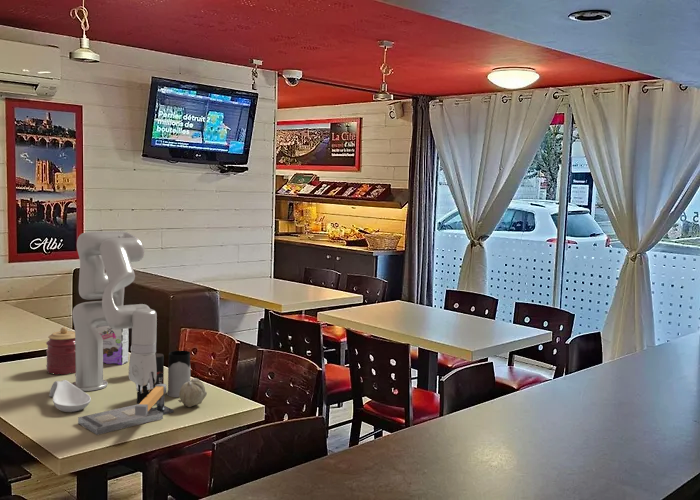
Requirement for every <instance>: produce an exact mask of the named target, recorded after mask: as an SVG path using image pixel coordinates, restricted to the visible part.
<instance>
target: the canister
mask: <svg viewBox="0 0 700 500" xmlns="http://www.w3.org/2000/svg"><path fill="white" fill-rule="evenodd" d="M45 344H46V345H47V349H46V351H45V352H46V372H47V373H48V372H49V373H48V374H50V373H54V374H53V375H58V374H61V375H70V374H69V373H71V374H76V352H75V331H72V330H68V329H67V327H66V326H64V327H63V326H62V327H61V328H60V329H59V331H56V332H55V331H54V332H52V333H51V334H50V335H48V340H47V341H46V342H45Z"/></svg>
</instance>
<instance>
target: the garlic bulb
mask: <svg viewBox="0 0 700 500" xmlns="http://www.w3.org/2000/svg"><path fill="white" fill-rule="evenodd" d="M207 393H208V392H207V391H206V388H205V386H204V384H203V382H202V381H201V380H200V379H199V378H197V377H193V378H192V379H190V381H189V382H186V383H184V384H183V385H182V387H181V389H180V392H179V396H180V397H179V399H177V402H179V403H182V404H183V405H184V406H186V407H188V408H191V407H193V406H198V405H200V404H202V402H203V400H204V399H205V398H206V397H207Z"/></svg>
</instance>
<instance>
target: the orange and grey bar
mask: <svg viewBox="0 0 700 500" xmlns="http://www.w3.org/2000/svg"><path fill="white" fill-rule="evenodd" d="M163 394H164V395H166V394H167V384H165V383H164V384H157V385H155V388H154V389H153V390H152V391H151V392H150V393H149V394H148V395H147V396H146V397H145V398H144V399H143V400H142V401H141V402H140V403H139V404H135V405H136V406H135V415H136V416H146V415H147V414H148V411H149V410H150V409H151V408H153V406H154V405H155V404H157V401H158V400H159V399H160V397H161V396H162V395H163Z"/></svg>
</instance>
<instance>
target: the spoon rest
mask: <svg viewBox="0 0 700 500" xmlns="http://www.w3.org/2000/svg"><path fill="white" fill-rule="evenodd" d="M49 397H50V398H52V403H53V405H54V407H55V408H56V409H57V410H59V411H61V412H64V413H74V412H79V411H81V410H83V409H85V408H86V407H87V406H88V405H90V403H91V401H92V398H91V396H90V394H88V393H87V392H86V391H82V390H80V389H79V388H77V387H76V386H74V385H73V384H72V383H71V382H70V381H68V380H67V379H63V380H61V381H59V380H55V381H54V382H53V383H52V385H51V386H50V390H49Z"/></svg>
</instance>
